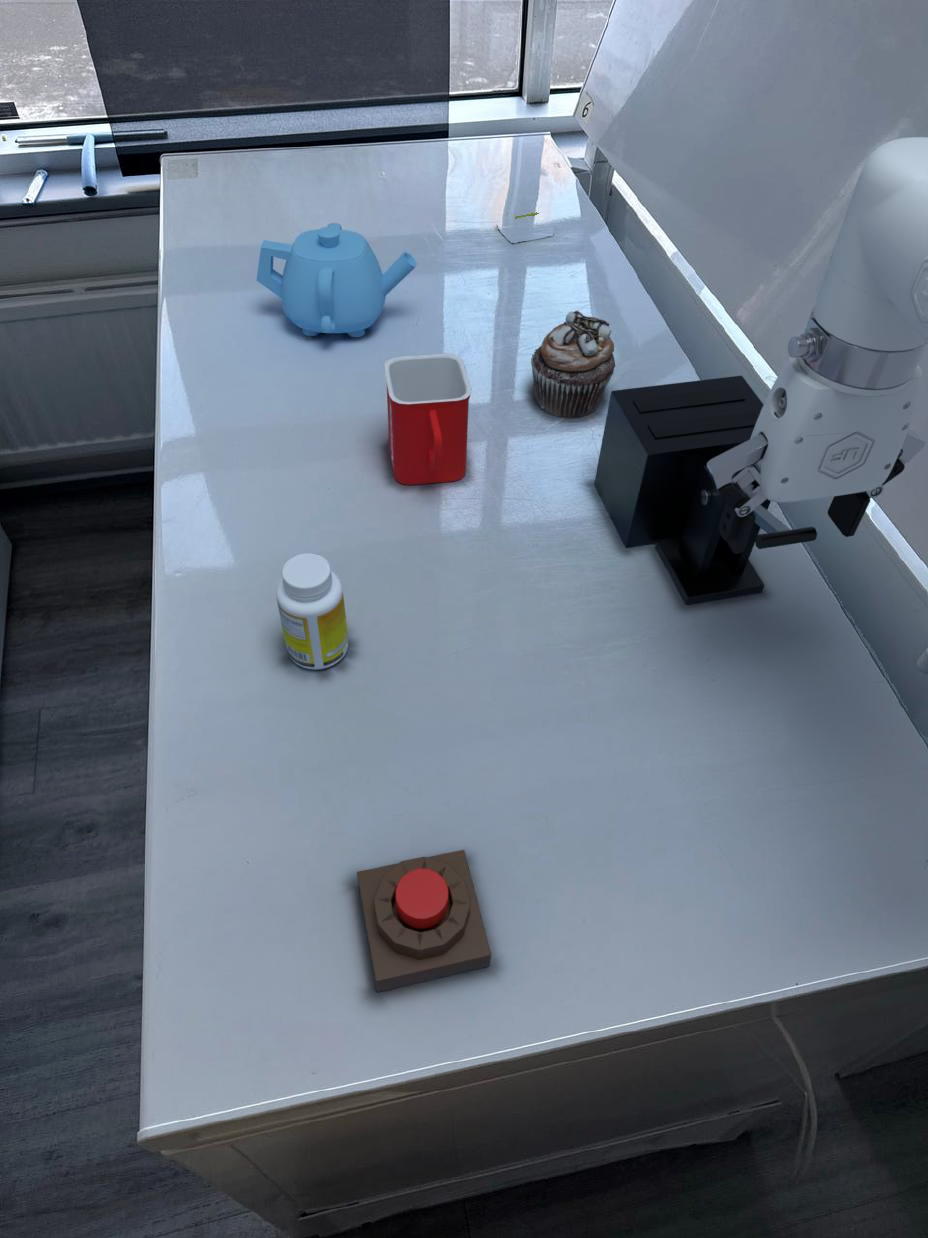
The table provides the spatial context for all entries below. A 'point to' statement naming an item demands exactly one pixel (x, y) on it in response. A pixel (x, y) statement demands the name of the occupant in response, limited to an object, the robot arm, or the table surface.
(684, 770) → the table surface
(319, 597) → the supplement bottle
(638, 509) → the toaster
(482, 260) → the table surface
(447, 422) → the mug
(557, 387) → the cupcake
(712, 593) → the lever bracket
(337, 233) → the teapot
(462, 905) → the button block
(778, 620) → the table surface
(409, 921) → the red button
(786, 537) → the toaster lever
